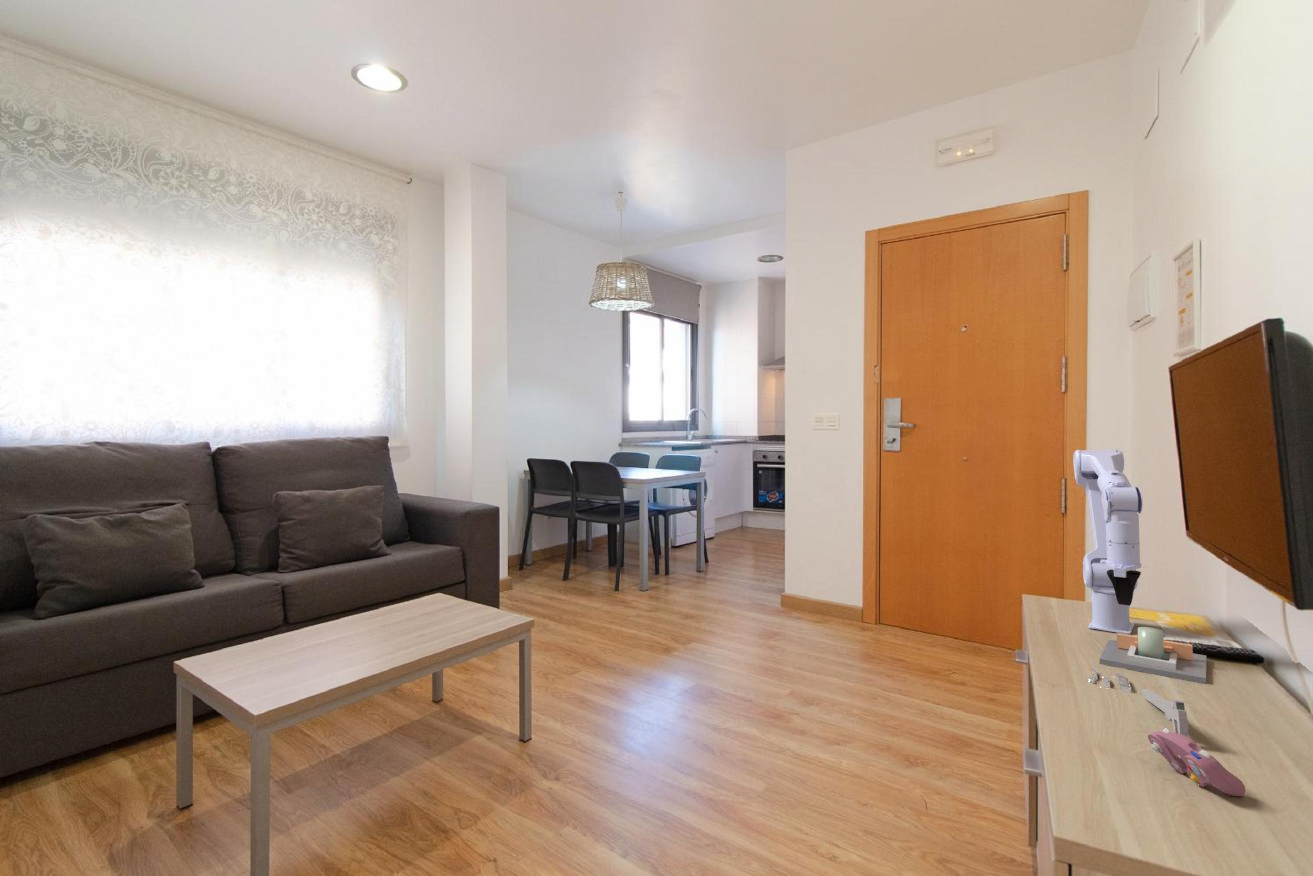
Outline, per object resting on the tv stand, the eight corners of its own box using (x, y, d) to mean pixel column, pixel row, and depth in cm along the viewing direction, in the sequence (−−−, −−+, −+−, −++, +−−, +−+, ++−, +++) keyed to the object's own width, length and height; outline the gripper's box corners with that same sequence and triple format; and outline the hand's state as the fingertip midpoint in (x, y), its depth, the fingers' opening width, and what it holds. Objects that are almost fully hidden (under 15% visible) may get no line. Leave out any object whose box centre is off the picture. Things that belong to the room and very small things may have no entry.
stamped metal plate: (1131, 695, 109) (1131, 687, 109) (1084, 688, 113) (1084, 680, 113) (1125, 680, 116) (1125, 672, 116) (1081, 673, 119) (1081, 666, 119)
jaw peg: (1138, 654, 124) (1137, 625, 124) (1163, 658, 122) (1162, 629, 122) (1138, 660, 121) (1137, 630, 121) (1164, 664, 118) (1163, 634, 118)
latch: (1117, 646, 129) (1117, 633, 129) (1192, 658, 121) (1192, 644, 121) (1116, 649, 127) (1116, 635, 127) (1192, 662, 119) (1192, 648, 119)
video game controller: (1157, 770, 87) (1134, 727, 87) (1185, 755, 87) (1162, 712, 87) (1222, 812, 77) (1196, 764, 77) (1253, 796, 77) (1227, 747, 77)
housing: (1109, 644, 133) (1108, 634, 134) (1206, 660, 123) (1206, 649, 123) (1099, 663, 122) (1099, 653, 122) (1206, 683, 112) (1205, 672, 112)
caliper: (1189, 748, 90) (1188, 706, 90) (1180, 746, 91) (1178, 705, 91) (1147, 694, 109) (1146, 660, 109) (1139, 693, 109) (1138, 659, 109)
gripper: (1104, 535, 139) (1106, 594, 139) (1095, 545, 129) (1097, 608, 129) (1143, 538, 134) (1145, 599, 134) (1137, 548, 124) (1139, 614, 124)
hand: (1124, 604), depth 131 cm, fingers closed
